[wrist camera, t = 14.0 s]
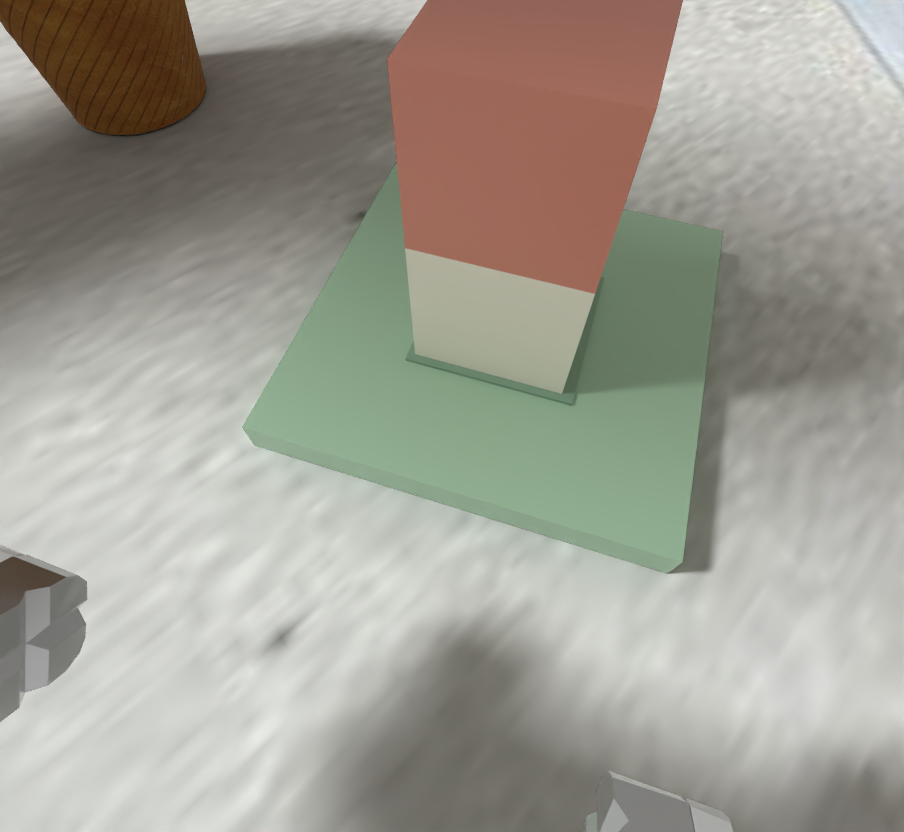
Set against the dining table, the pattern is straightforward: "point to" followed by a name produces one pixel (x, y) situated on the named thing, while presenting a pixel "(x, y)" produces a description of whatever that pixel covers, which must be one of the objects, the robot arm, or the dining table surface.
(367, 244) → the baseplate
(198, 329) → the dining table surface
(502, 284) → the pink and cream block
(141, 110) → the disposable coffee cup
